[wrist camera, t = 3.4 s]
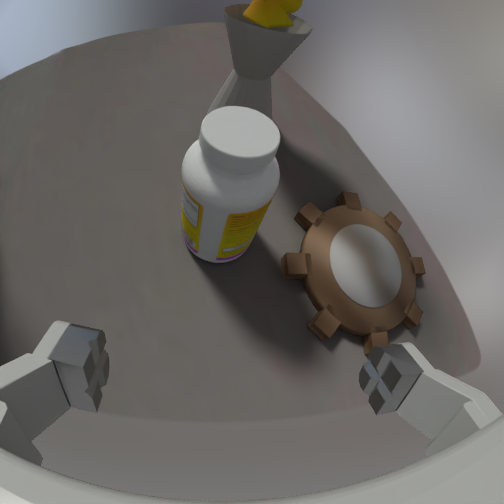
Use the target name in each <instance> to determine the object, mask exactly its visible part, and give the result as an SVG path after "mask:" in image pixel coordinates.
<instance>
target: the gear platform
mask: <svg viewBox="0 0 504 504" xmlns="http://www.w3.org/2000/svg"><path fill="white" fill-rule="evenodd" d="M337 200H338V204H339V206H337V207H333V208H331V209H329V210H327V211H325V212H324V213H323V212H322V211H321V210H320V209H318V208H317V207H316V206H315V205H314V204H313V203H312V202H310V201H309V202H308V203H307V204H306V205H305V206H304V207H303V208H302V209H301V210H300V211H299V212H298V213H297V215H296V216H295V218H294V219H295V220H296V221H297V222H298V223H299V224H300V225H301V226H302V227H304V228H305V229H306V230H307V232H306V234H305V236H304V239H303V241H302V244H301V249H300V253H286V254H285V255H284V256H283V257H282V258H281V263H282V273H283V279H302V281H303V284H304V288H305V290H306V292H307V294H308V297H309V298H310V300H311V302H312V303H313V305H314V306H315V308H316V309H317V310H318V313H317V314H316V316H315V317H314V318H313V319H312V321H311V322H310V323H309V325H308V326H307V327H308V328H309V329H310V330H311V331H313V332H314V333H315V334H316V335H317V336H318V337H319V338H320V339H321V340H326V339H329V338H331V336H332V335H333V333H334V332H335V331H336V329H337V328H339V329H340V330H342V331H345V332H347V333H350V334H354V335H360V336H363V344H364V353H365V354H368V353H369V352H370V350H371V349H372V348H373V347H374V346H379V345H389V343H388V336H387V331H388V330H390V329H392V328H394V327H395V326H397V325H398V324H399V323H401V322H402V323H403V324H404V325H405V326H406V327H407V328H408V329H409V328H412V327H415V326H417V325H418V323H419V321H420V319H421V316H422V314H423V311H422V310H421V309H420V308H419V307H418V305H417V304H416V303H415V302H414V298H415V292H416V278H418V277H420V276H422V275H423V274H425V273H426V272H425V268H424V264H423V260H422V258H421V257H411V254H410V252H409V250H408V248H407V246H406V244H405V242H404V240H403V239H402V237H401V236H400V235H399V233H398V232H397V231H398V229H399V227H400V226H401V224H402V222H401V221H400V220H399V219H398V218H397V217H396V216H395V215H394V214H393V213H392V212H391V211H390V212H389V213H388V214H387V215H386V216H385V217H384V218H382V217H381V216H379V215H378V214H376V213H374V212H372V211H370V210H368V209H365V208H362V207H361V204H360V201H359V197H358V194H357V193H351V192H345V191H343V192H342V193H341V194H340V196H339V197H338V198H337Z"/></svg>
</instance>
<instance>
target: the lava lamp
mask: <svg viewBox="0 0 504 504" xmlns="http://www.w3.org/2000/svg"><path fill="white" fill-rule="evenodd" d="M301 5H302V0H253V2H252V3H251V4H238V5H231V6H229V7H226V8H225V10H224V16H225V22H226V27H227V32H228V38H229V43H230V49H231V54H232V59H233V65H234V69H233V70H232V72H231V74H230V75H229V77H228V78H227V80H226V81H225V83H224V85H223V86H222V88H221V89H220V91H219V93H218V94H217V96H216V98H215V99H214V101H213V103H212V104H211V106H210V108H209V109H208V112H207V115H208V114H209V113H210V112H212V111H214V110H216V109H218V108H222V107H227V106H240V107H247V108H250V109H254V110H256V111H259V112H260V113H262V114H264V115H266V116H267V117H268V118H270V119H271V120H272V98H271V76H272V75H273V74H274V72H275V71H276V70H277V69H278V68H279V67H280V66H281V65H282V63H283V62H284V61H285V60H286V59H287V58H288V57H289V56H290V54H292V52H293V51H294V50H295V49H296V48H297V47H298V46H299V45H300V44H301V43H302V42H303V41H304V40H305V39H306V38H307V37H308V36H309V34H310V33H311V31H312V28H311V26H310V25H309V24H308V23H306V22H305V21H304V20H302V19H300V18H298V17H296V16H294V15H292V14H291V13H294V12H296V11H297V10H298V9H299V8H300V7H301Z"/></svg>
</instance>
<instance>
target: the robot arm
mask: <svg viewBox="0 0 504 504" xmlns="http://www.w3.org/2000/svg"><path fill="white" fill-rule="evenodd" d="M105 344H106V338H105V333H104V332H103V331H102V330H99V329H94V328H90V327H85V326H81V325H76V324H71V323H67V322H63V321H59V320H57V321H55V322H53V324H52V325H51V327H50V328H49V330H48V331H47V332H46V334H45V335H44V337H43V338H42V340H41V341H40V343H39V344H38V346H37V347H36V349H35V350H34V352H33V353H32V354H29V353H27V354H25V355H23V356H21V357H19V358H17V359H15V360H13V361H11V362H8V363H6V364H4V365H2V366H0V504H504V414H501V412H500V411H499V410H498V409H497V408H496V406H495V405H494V404H493V403H492V401H491V400H490V399H489V398H488V397H487V396H486V394H485V393H483V392H481V391H479V390H477V389H475V388H473V387H471V386H469V385H467V384H465V383H463V382H461V381H460V380H458V379H456V378H454V377H452V376H450V375H448V374H446V373H444V372H442V371H440V370H438V369H437V370H435V369H434V368H433V367H432V366H431V365H430V363H429V362H428V361H427V360H426V359H425V357H424V356H423V355H422V354H421V353H420V352H419V351H418V349H417V348H416V347H415V346H414V345H413V344H411V343H409V342H407V343H399V344H391V345H379V346H374V347H373V348H372V349H371V350H370V352H369V354H368V357H369V361H368V362H366V363H365V364H364V365H363V366H362V369H361V371H360V373H359V383H360V387H361V389H362V390H363V392H365V393H366V394H368V395H369V403H370V405H371V407H372V408H373V410H374V412H375V414H376V415H379V414H384V413H389V412H394V411H396V413H397V414H398V415H400V416H401V417H402V418H404V419H405V420H406V421H407V422H409V423H410V424H411V425H413V426H414V427H415V428H417V429H418V430H419V431H420V432H422V433H423V434H424V435H426V436H427V437H428V438H430V439H431V440H432V441H431V443H430V444H429V445H428V446H427V447H426V448H425V453H426V454H427V456H428V457H426V458H424V459H422V460H420V461H417V462H415V463H413V464H410V465H408V466H405V467H403V468H400V469H397V470H395V471H392V472H389V473H386V474H383V475H380V476H377V477H374V478H371V479H368V480H364V481H361V482H358V483H354V484H350V485H346V486H342V487H338V488H333V489H329V490H325V491H319V492H314V493H309V494H303V495H296V496H289V497H282V498H272V499H261V500H247V501H246V500H245V501H197V500H182V499H171V498H161V497H154V496H147V495H140V494H135V493H129V492H124V491H119V490H115V489H110V488H106V487H102V486H98V485H94V484H91V483H87V482H84V481H80V480H77V479H74V478H71V477H68V476H65V475H62V474H59V473H57V472H54V471H51V470H49V469H46V468H43V467H41V462H42V459H43V458H42V456H41V454H40V453H39V451H38V450H37V449H36V448H35V446H34V445H33V444H32V442H31V441H32V440H33V439H34V438H36V436H38V435H39V434H40V433H41V432H42V431H44V430H45V429H46V428H47V427H49V426H50V425H51V424H52V423H53V422H54V421H56V420H57V419H58V418H59V417H60V416H62V415H63V414H64V413H65V412H66V411H67V410H68V409H70V407H74V408H78V409H82V410H86V411H91V412H96V413H97V412H98V408H99V405H100V402H101V399H102V392H101V387H103V386H104V385H106V383H107V379H108V375H109V356H108V353H107V352H106V351H105V350H104V346H105Z"/></svg>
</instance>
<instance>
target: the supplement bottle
mask: <svg viewBox="0 0 504 504" xmlns="http://www.w3.org/2000/svg"><path fill="white" fill-rule="evenodd" d="M279 144H280V133H279V130H278V128H277V126H276V125H275V123H274V122H273V121H272V120H271V119H270V118H268V117H267V116H266V115H264V114H262V113H260V112H259V111H256V110H254V109H250V108H247V107H240V106H227V107H222V108H218V109H216V110H214V111H212V112H210V113H209V114H208V115H207V116H206V117H205V118H204V120H203V122H202V125H201V131H200V135H199V139H198V140H197V141H196V142H194V143H193V144H192V145H191V147H190V148H189V149H188V151H187V152H186V154H185V157H184V160H183V164H182V195H181V196H182V197H181V227H182V235H183V239H184V241H185V243H186V245H187V247H188V248H189V249H190V250H191V252H193V253H194V254H195V255H196V256H198V257H199V258H201V259H203V260H206V261H209V262H214V263H224V262H229V261H232V260H234V259H236V258H238V257H240V256H241V255H242V254H243V253H244V252H245V251H246V250H247V249H248V247H249V246H250V244H251V242H252V240H253V238H254V236H255V234H256V232H257V230H258V228H259V226H260V224H261V221H262V219H263V217H264V215H265V213H266V211H267V209H268V207H269V205H270V203H271V201H272V199H273V197H274V195H275V192H276V190H277V187H278V184H279V179H280V170H279V165H278V162H277V160H276V158H275V155H276V152H277V149H278V147H279Z"/></svg>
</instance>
